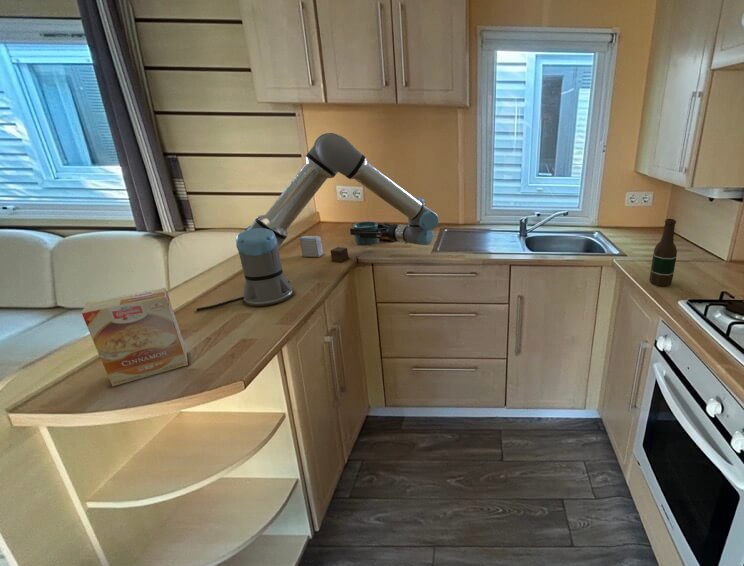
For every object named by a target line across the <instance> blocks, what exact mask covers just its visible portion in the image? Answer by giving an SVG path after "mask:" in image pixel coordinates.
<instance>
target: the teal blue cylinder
mask: <svg viewBox="0 0 744 566" xmlns="http://www.w3.org/2000/svg"><path fill="white" fill-rule="evenodd" d="M352 229H362V230H363V231H366V230H377V229H378V222H376V221H362V222H361V221H360V222H356V223H354V224H353V225H352ZM353 237H354V243H355V244H354V245H356V246H362V247H363V246H364V247H366V246H373V245H376V244H379V243H380V240H381V239H378V238H360V237H359V236H357V235H353Z"/></svg>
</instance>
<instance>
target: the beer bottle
mask: <svg viewBox="0 0 744 566" xmlns="http://www.w3.org/2000/svg"><path fill="white" fill-rule="evenodd" d="M676 224H677V220H675V219H674V218H665V220H664V227H663V230H662V235H661V238H660V241H659V242H658V243H657V244H656V246H655V247H654V249H653V253H652V260H651V267H650V273H649V282H650V283H651V284H652V285H653V286H657V287H665V288H666V287H669V286H671V285H672V283H673V280H674V279H673V278H674V274H675V273H674V272H675V268H676V261H677V255H678V249H677V246H676V244H675V242H674V240H675V239H674V237H675V227H676Z"/></svg>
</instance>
